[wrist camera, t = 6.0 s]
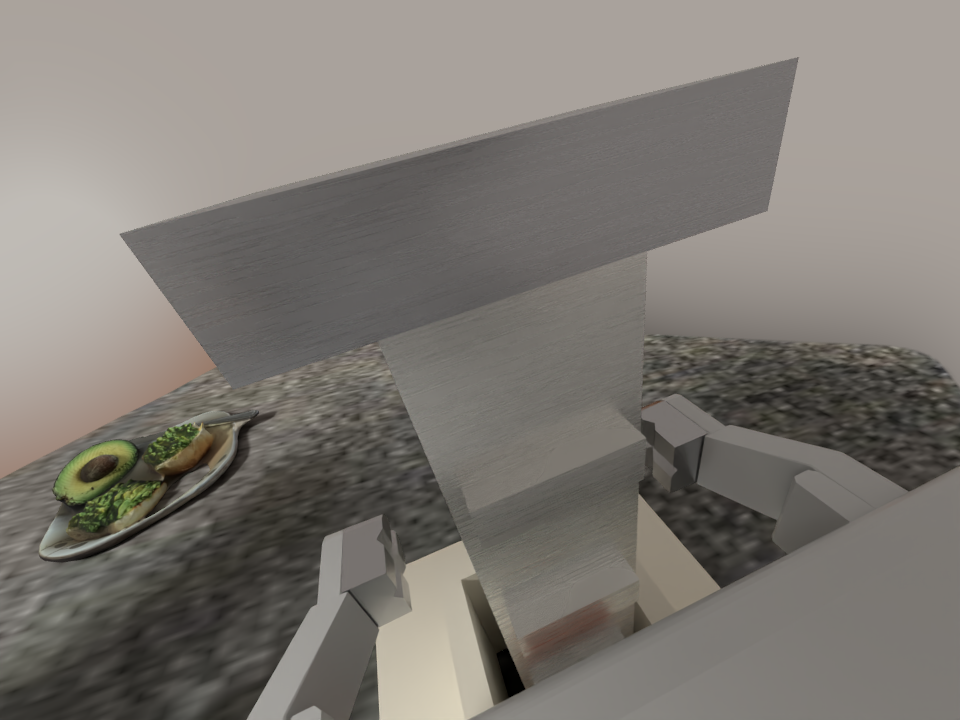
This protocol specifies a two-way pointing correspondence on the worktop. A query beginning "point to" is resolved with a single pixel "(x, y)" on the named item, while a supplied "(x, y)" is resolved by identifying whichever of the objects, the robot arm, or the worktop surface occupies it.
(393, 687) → the stand
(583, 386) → the column
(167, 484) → the salad plate
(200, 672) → the worktop surface
